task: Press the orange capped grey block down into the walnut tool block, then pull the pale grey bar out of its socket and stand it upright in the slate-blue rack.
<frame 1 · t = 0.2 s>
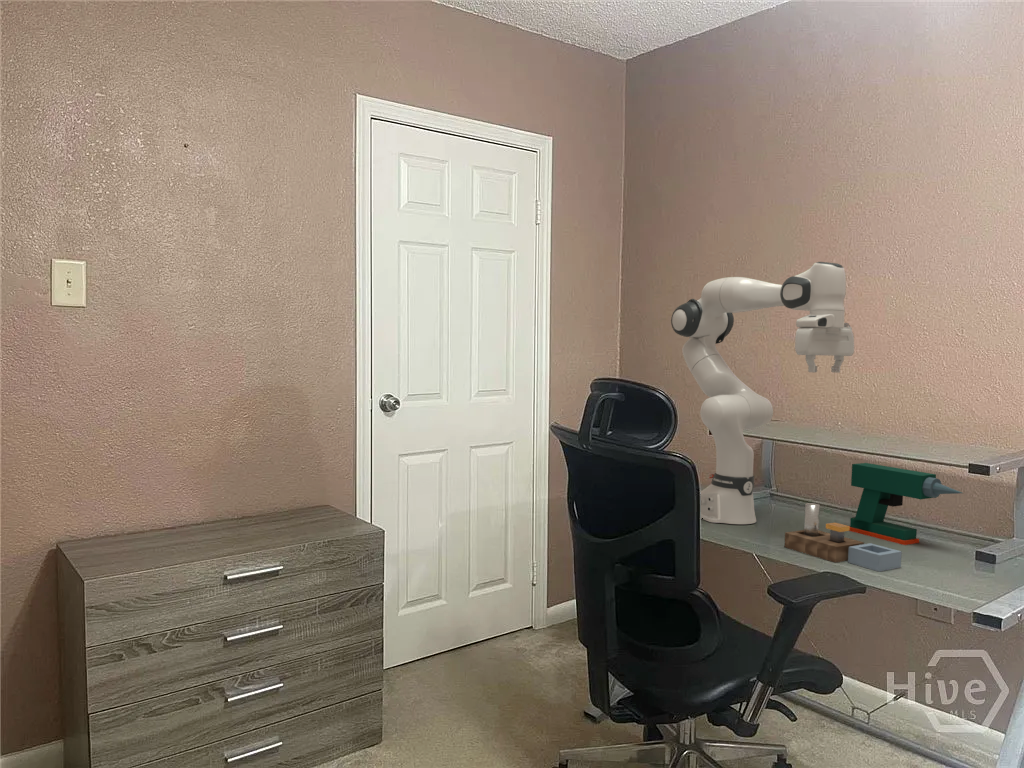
hand: (824, 372, 210), 47 cm above the table, fingers open, 8 cm apart
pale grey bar: (810, 548, 207), resting in tool block
orange capped grey block: (837, 534, 200), point 6 cm above the table, slide at 0.0 cm
power tool: (904, 542, 218), on the table
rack: (874, 564, 193), on the table
tool block: (823, 552, 204), on the table
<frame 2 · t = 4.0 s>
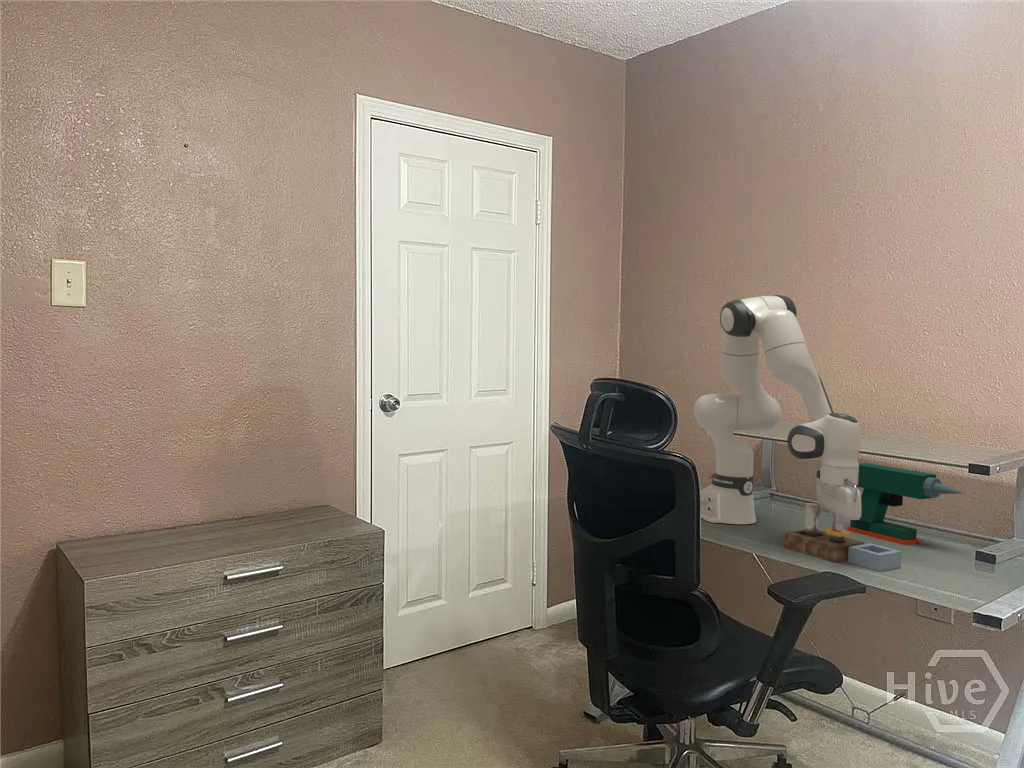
hand: (837, 529, 199), 7 cm above the table, fingers closed
orange capped grey block: (837, 539, 200), point 4 cm above the table, slide at 1.3 cm, touching gripper
everything else where it was.
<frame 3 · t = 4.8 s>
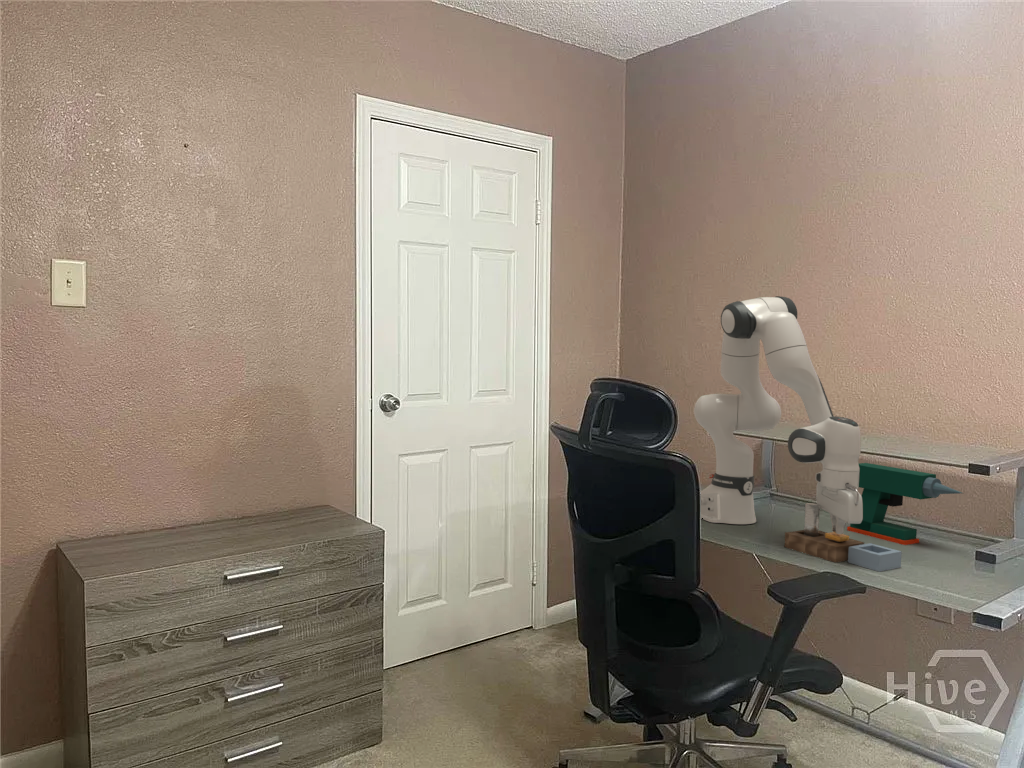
hand: (837, 532, 200), 6 cm above the table, fingers closed
orange capped grey block: (836, 544, 200), point 3 cm above the table, slide at 2.5 cm
everything else where it was.
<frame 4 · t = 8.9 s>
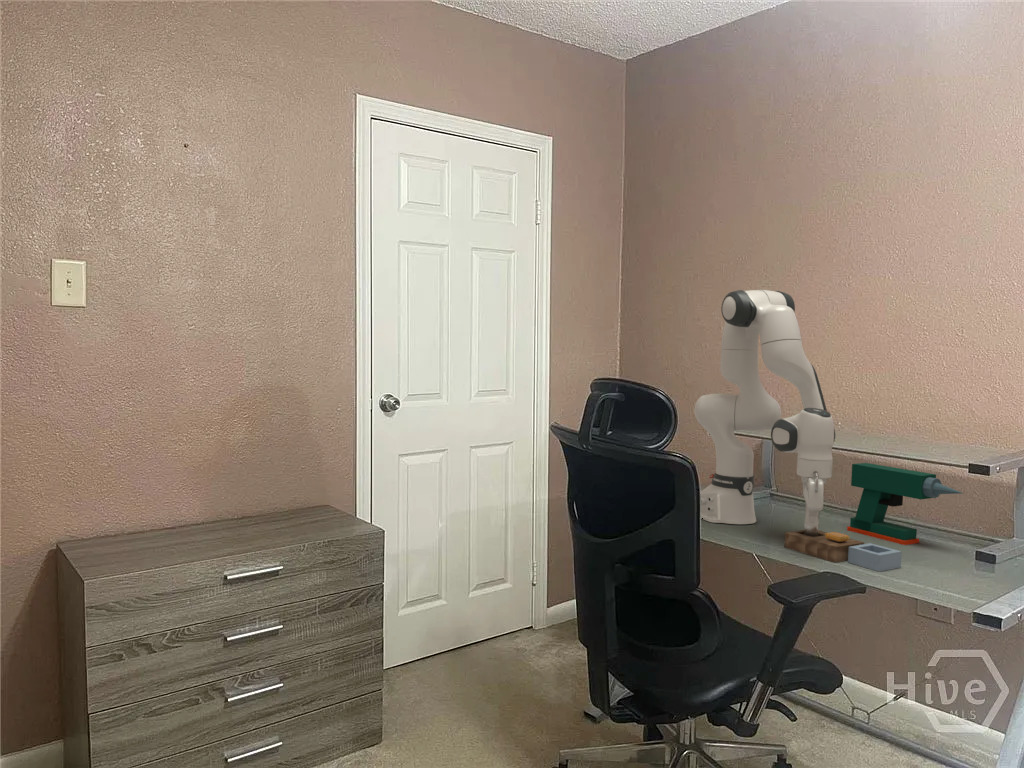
hand: (811, 520, 207), 8 cm above the table, fingers closed on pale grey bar, 4 cm apart
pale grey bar: (810, 548, 207), resting in tool block, touching gripper
everything else where it was.
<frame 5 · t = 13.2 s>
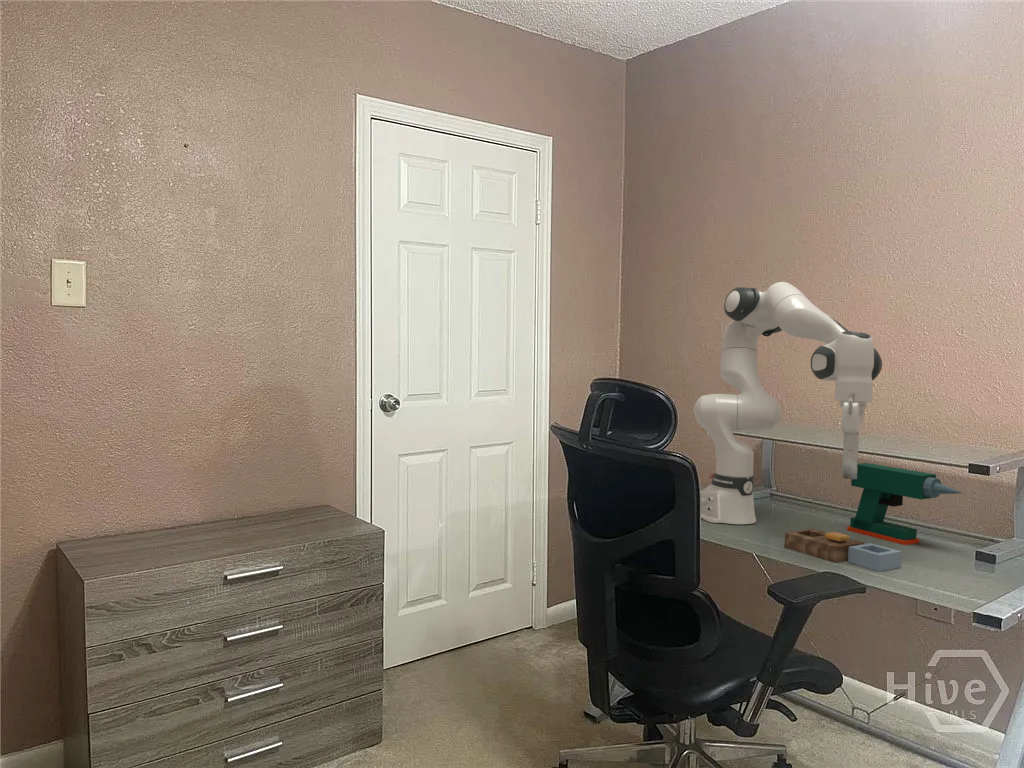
hand: (850, 448, 198), 28 cm above the table, fingers closed on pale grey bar, 4 cm apart
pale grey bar: (849, 478, 198), point 21 cm above the table, touching gripper
everything else where it was.
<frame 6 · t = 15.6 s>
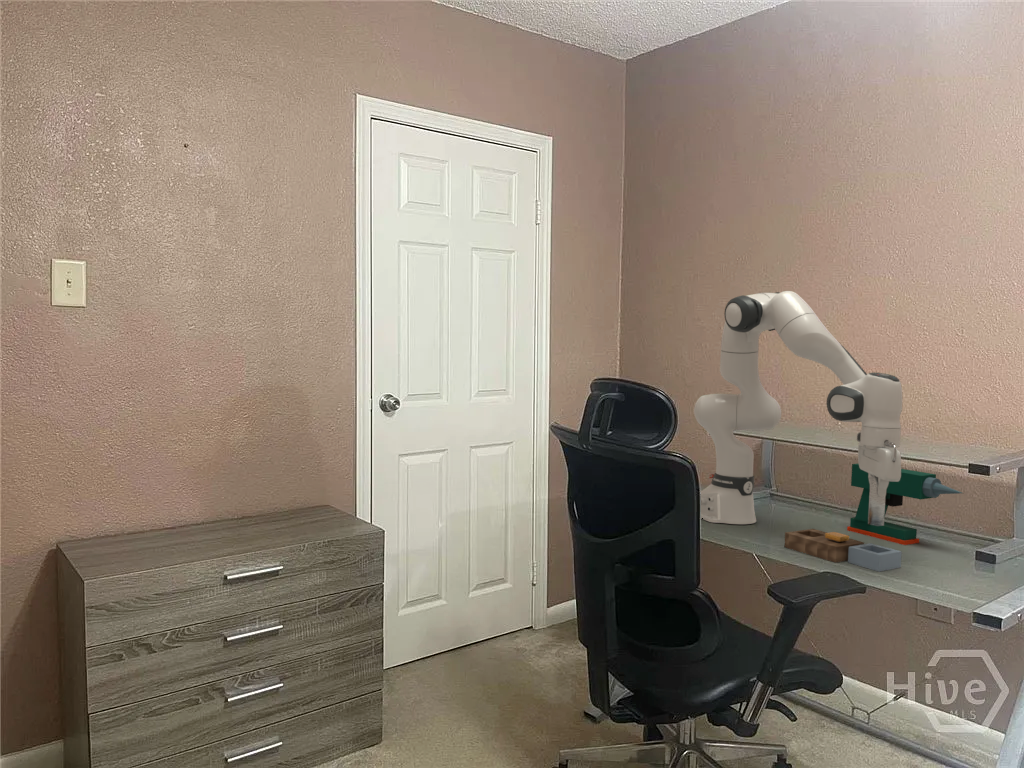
hand: (877, 493, 192), 18 cm above the table, fingers closed on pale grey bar, 4 cm apart
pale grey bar: (875, 524, 192), point 10 cm above the table, touching gripper
everything else where it was.
when the fingers open (10 cm above the table, at t = 17.5 s): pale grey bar drops 2 cm, resting in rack.
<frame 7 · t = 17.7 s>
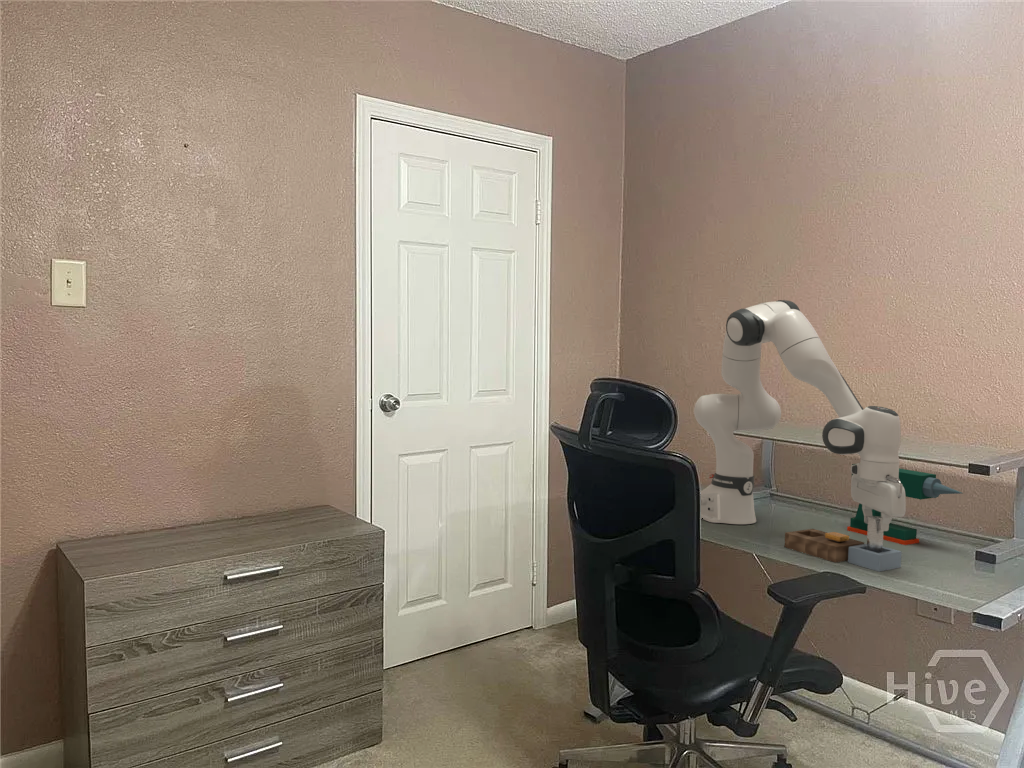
hand: (876, 526, 193), 10 cm above the table, fingers open, 6 cm apart
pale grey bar: (873, 564, 193), resting in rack
everything else where it was.
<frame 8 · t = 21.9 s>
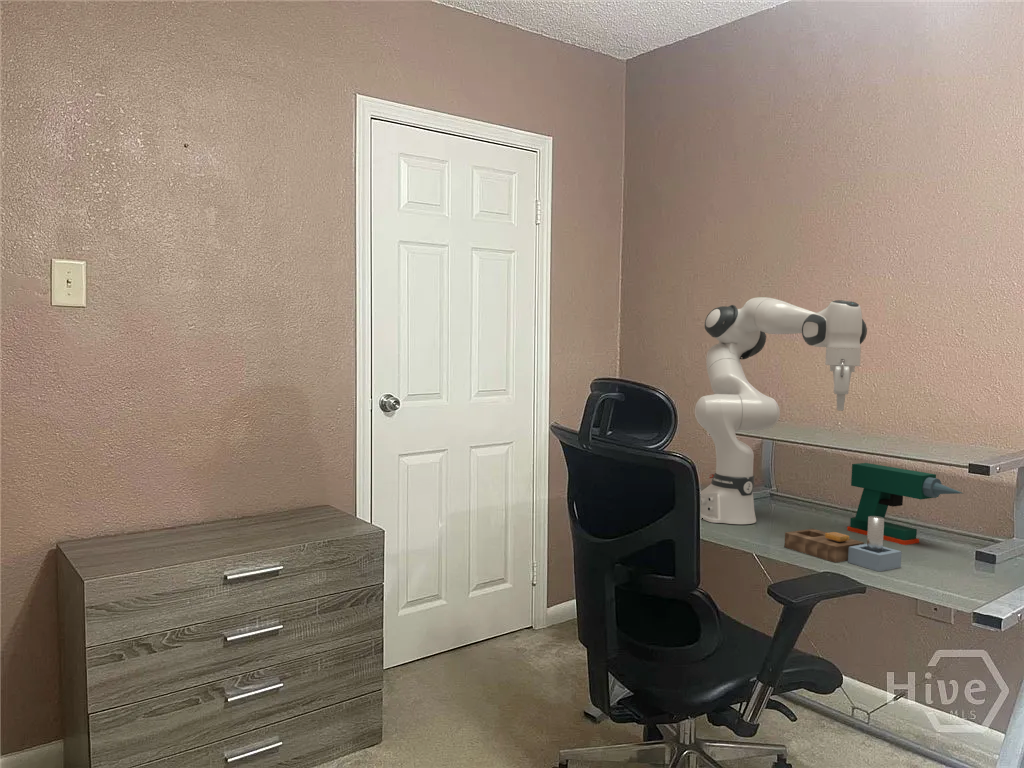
hand: (840, 409, 213), 37 cm above the table, fingers open, 8 cm apart
nothing on the table moved.
at the end: orange capped grey block slide at 2.5 cm; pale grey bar 0.1 cm off-centre on the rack, point 0.0 cm above the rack's base; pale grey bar tilted 0° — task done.
